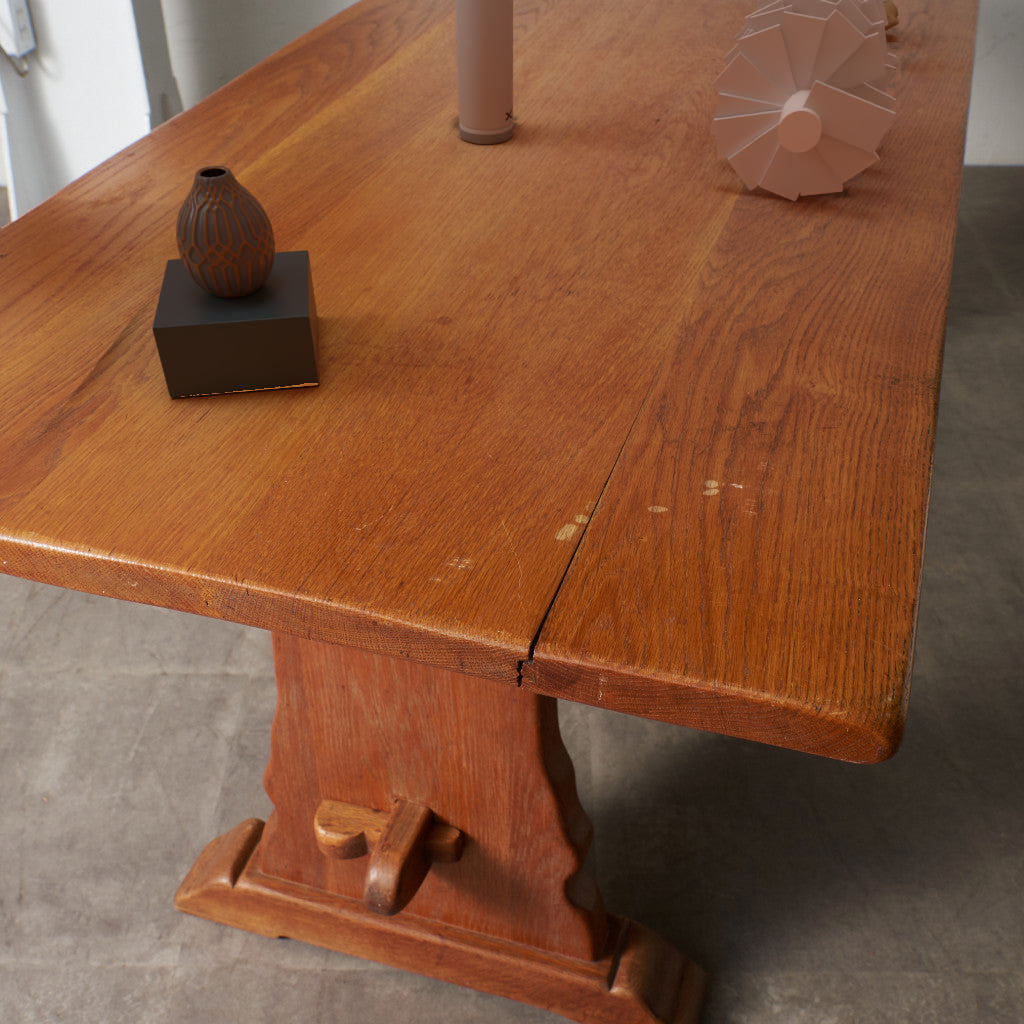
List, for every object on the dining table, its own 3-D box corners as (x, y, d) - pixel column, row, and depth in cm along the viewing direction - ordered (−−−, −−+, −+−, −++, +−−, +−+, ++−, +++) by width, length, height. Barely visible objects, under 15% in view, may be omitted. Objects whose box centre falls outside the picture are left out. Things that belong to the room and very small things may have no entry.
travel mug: (524, 139, 117) (526, -56, 104) (472, 148, 115) (467, -50, 102) (501, 122, 121) (500, -66, 108) (451, 131, 119) (444, -61, 106)
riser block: (170, 399, 75) (151, 327, 71) (183, 326, 83) (167, 259, 80) (319, 386, 76) (309, 315, 73) (317, 316, 85) (308, 249, 81)
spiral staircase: (735, 241, 105) (757, 145, 123) (913, 187, 97) (909, 93, 114) (675, 72, 96) (708, -5, 113) (867, -4, 87) (870, -75, 105)
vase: (282, 303, 74) (263, 186, 68) (185, 312, 73) (158, 194, 67) (279, 261, 79) (262, 150, 74) (189, 269, 78) (164, 157, 73)
